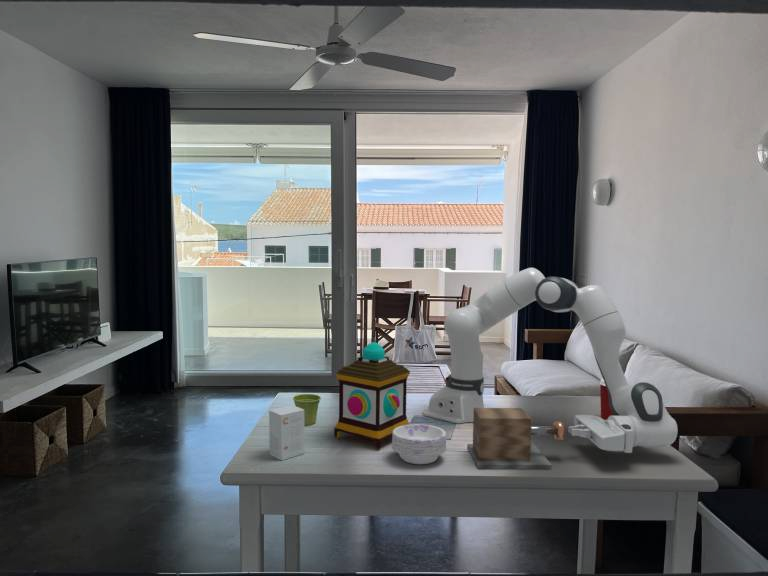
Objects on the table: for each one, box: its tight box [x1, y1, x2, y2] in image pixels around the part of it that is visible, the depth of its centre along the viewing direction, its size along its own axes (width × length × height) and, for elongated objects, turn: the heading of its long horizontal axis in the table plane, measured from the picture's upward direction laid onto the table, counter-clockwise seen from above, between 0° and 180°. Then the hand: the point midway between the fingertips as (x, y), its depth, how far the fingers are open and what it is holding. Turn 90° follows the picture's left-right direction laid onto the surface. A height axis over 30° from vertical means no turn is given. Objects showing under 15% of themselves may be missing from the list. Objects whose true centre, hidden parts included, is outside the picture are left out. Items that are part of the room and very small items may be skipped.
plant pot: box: [292, 393, 322, 426], centre depth 188 cm, size 9×9×9 cm
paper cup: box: [599, 378, 614, 420], centre depth 195 cm, size 8×8×14 cm
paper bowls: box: [391, 423, 447, 465], centre depth 157 cm, size 15×15×8 cm
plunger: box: [531, 420, 566, 441], centre depth 158 cm, size 17×6×5 cm, turn 92°
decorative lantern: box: [333, 341, 411, 451], centre depth 174 cm, size 20×20×30 cm
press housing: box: [466, 407, 553, 470], centre depth 158 cm, size 20×16×13 cm
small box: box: [268, 405, 306, 461], centre depth 159 cm, size 8×6×13 cm
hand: (570, 431), depth 159 cm, fingers closed
